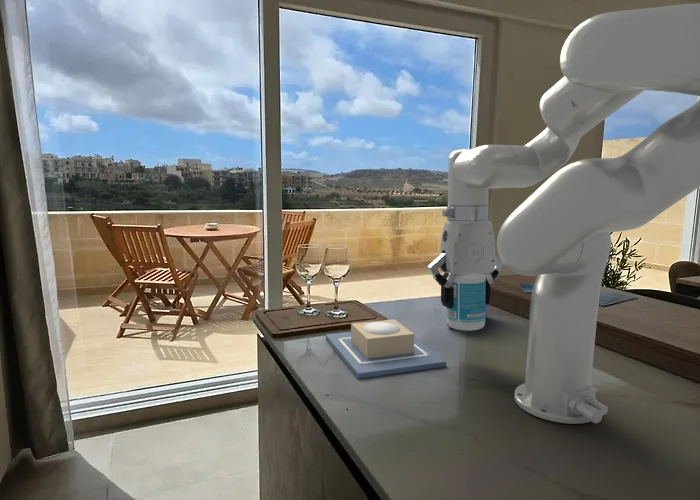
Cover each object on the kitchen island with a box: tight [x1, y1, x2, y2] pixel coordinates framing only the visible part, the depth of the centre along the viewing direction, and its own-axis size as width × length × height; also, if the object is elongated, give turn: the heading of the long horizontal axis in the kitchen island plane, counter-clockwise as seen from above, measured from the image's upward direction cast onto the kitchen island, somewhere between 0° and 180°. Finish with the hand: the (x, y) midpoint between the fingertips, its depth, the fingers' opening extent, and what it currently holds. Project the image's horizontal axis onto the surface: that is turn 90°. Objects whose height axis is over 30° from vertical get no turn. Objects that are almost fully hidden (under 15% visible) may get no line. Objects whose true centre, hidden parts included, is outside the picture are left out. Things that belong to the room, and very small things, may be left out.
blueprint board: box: [325, 319, 447, 380], centre depth 98 cm, size 22×18×5 cm
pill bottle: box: [446, 273, 486, 331], centre depth 92 cm, size 8×7×14 cm
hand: (465, 304), depth 93 cm, fingers closed on pill bottle, 7 cm apart
